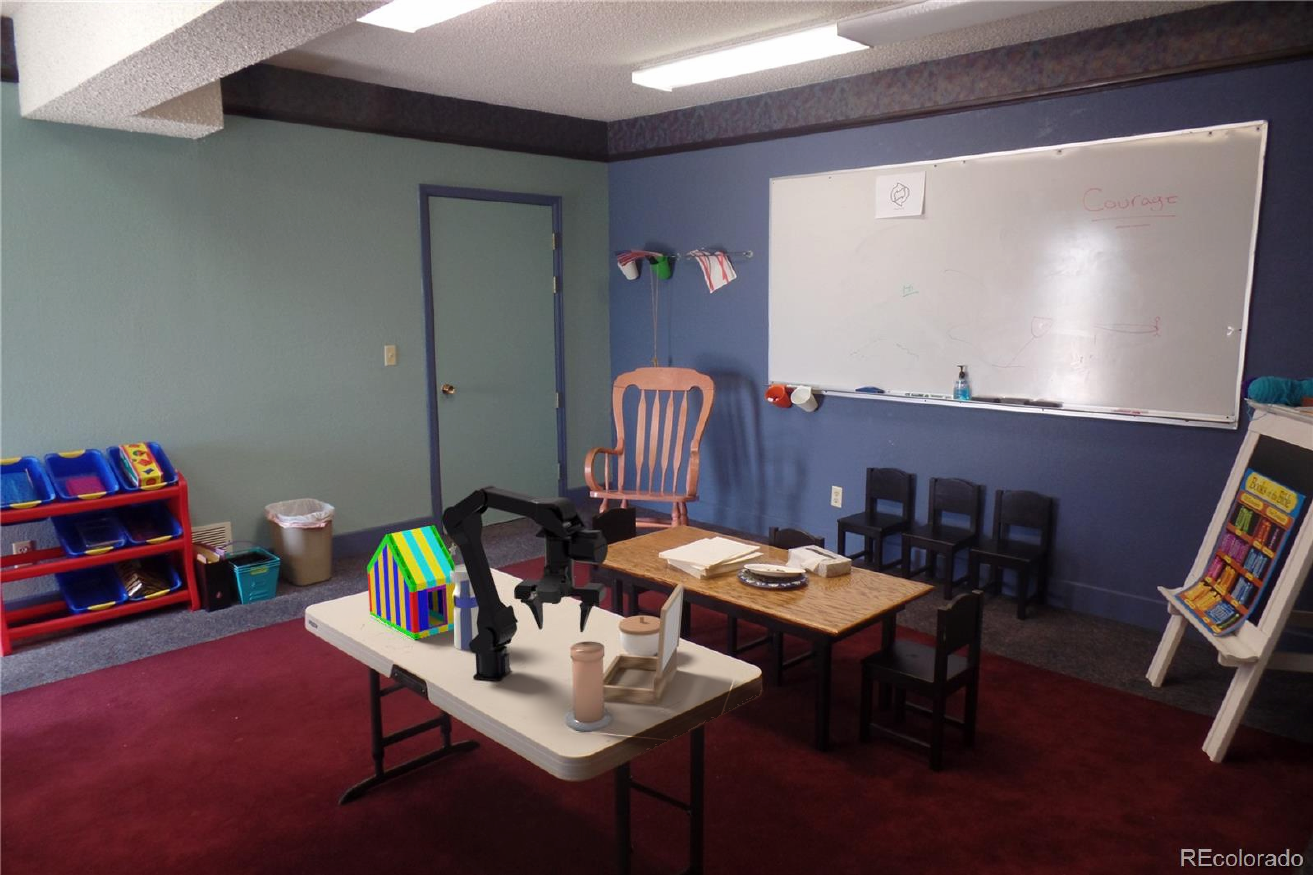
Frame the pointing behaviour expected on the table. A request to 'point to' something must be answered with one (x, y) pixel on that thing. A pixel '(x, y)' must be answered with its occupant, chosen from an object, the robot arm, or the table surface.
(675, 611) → the lid
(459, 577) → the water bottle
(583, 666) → the tan cylindrical canister
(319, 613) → the table surface
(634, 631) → the lidded jar
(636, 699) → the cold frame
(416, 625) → the toy house
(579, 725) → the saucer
